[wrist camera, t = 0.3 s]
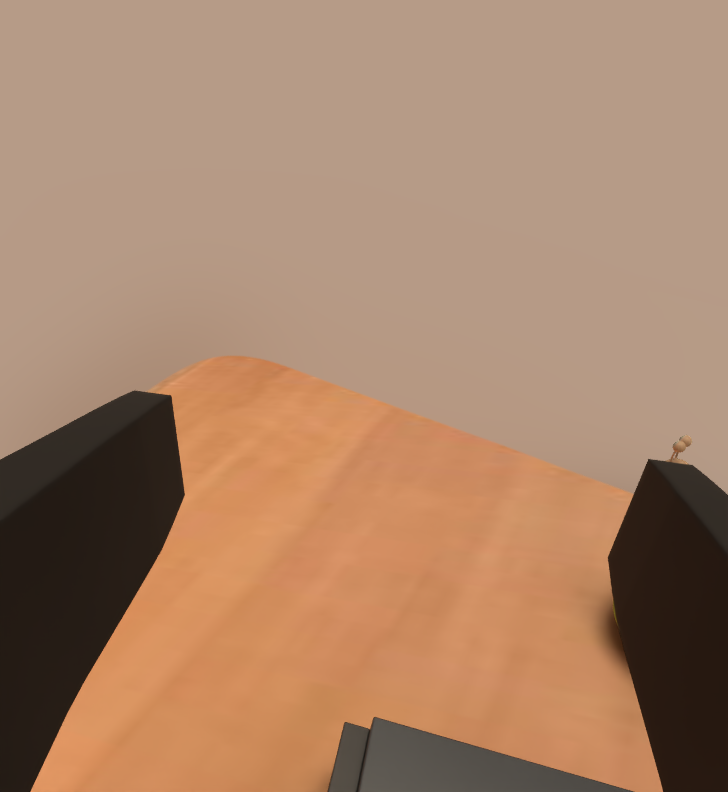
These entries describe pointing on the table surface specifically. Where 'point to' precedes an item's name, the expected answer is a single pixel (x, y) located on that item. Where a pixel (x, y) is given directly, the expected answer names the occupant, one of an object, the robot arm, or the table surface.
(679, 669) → the robot arm
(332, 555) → the table surface
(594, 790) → the dark grey stepped block
